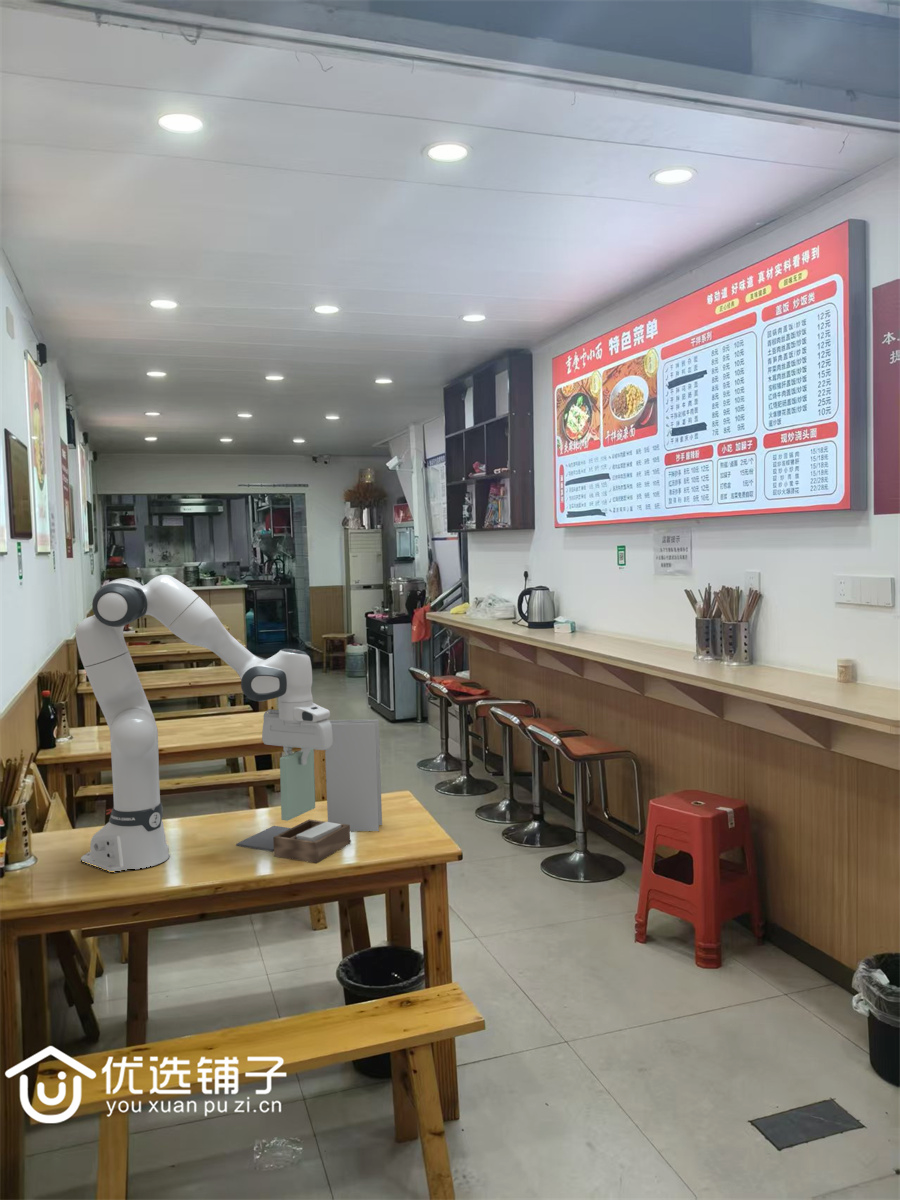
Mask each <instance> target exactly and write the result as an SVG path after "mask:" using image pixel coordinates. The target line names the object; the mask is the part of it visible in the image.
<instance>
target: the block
mask: <svg viewBox="0 0 900 1200" xmlns="http://www.w3.org/2000/svg"><path fill="white" fill-rule="evenodd" d="M310 750H311V751H310V753H309V755H308V757H307V764H306V765H299V764H298V762H299V761H298V758H301V757H302V754H303V752H301V749H300V750H298V751H295V752H292V754H289V755H286V754H285V755H284V756H281V757H279V775H280V776H279V778H280V779H279V780H280V784H279V785H280V806H281V807H280V810H281V811H280V812H281V816H280V817H281V821H287V822H288V821H290V820H292V819H295V818H297V817H299V816H301V815H303V814H305V813H308V812H310V811H312V810H313V809H316V791H315V790H316V786H315V785H316V783H315V780H316V779H315V752H314V751H315V749H310Z"/></svg>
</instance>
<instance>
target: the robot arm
mask: <svg viewBox="0 0 900 1200" xmlns="http://www.w3.org/2000/svg"><path fill="white" fill-rule="evenodd" d="M91 605H92V607H91V608H92V612H93V615H91V616H88V617H85V618H83V619H82V620H81V621H80V622H79V623H78V624H77V626H76V628H75V631H74V632H75V640H76V641H75V642H76V644H77V650H78V654H79V657H80V660H81V663H82V665H83V668H84V671H85V674H86V676H87V679H88V681H89V684H90V686H91V689H92V692H93V695H94V696H95V698H96V701H97V704H98V705H99V707H100V710H101V712H102V715H103V716H104V718H105V721H106V725H107V726H108V728H109V736H110V754H111V755H110V756H111V757H110V759H111V771H112V772H111V774H112V791H113V793H112V794H113V807H111V808H109V809H106V810H105V811H106V815H110V816H109V819H108V822H107V823H105V825H103V827H101V828H100V829H99V830H98V831H96V833H94V834H93V836H92V837H91V839H90V847H89V848H90V851H88V852H87V853H85V854H83V855H82V856H81V857H80V861H81V860H82V861H84V862H87V863H90V864H93V865H96V866H98V867H101V868H103V869H106V870H109V871H120V872H122V871H121V870H125V871H128V870H127V869H135V870H140V868H142V869H146V867H147V868H150V866H151V867H153V866H157V865H159V864H161V863H163V862H166V861H167V860H168V859H169V858H170V852H169V850H170V847H169V845H168V844H167V840H166V832H165V827H164V821H163V814H164V812H163V809H164V808H163V803H162V801H161V795H160V794H161V790H160V767H159V766H160V765H159V764H160V763H159V762H160V761H159V760H160V759H159V756H160V755H159V730H158V727H157V722H156V718H155V716H154V713H153V711H152V708H151V706H150V703H149V701H148V698H147V696H146V692H145V690H144V688H143V685H142V682H141V680H140V677H139V674H138V672H137V668H136V667H135V664H134V662H133V659H132V656H131V652H130V651H129V648H128V646H127V643H126V640H125V636H124V628H125V626H127V625H129V624H131V623H132V622H134V621H137V620H138V619H140V618H142V617H143V616H145V615H146V616H151V617H153V618H155V619H156V620H157V621H158V622H160V623H161V624H162V625H163V626H164V627H165V628H167V630H169V631H170V632H171V633H172V634H174V635H175V636H176V637H178V638H179V639H180V640H182V641H184V642H185V643H186V644H188V645H191V646H196V647H200V648H204V649H207V650H209V651H211V652H213V653H214V654H215V655H217V657H219V658H220V659H221V660H222V661H223V662H224V663H226V664H227V665H228V666H229V667H230V668H231V669H232V670H234V671H235V672H236V673H237V674H238V676H239V679H240V686H241V687H240V688H241V690H242V693H243V694H244V696H246V698H248V699H249V700H251V701H255V702H265V701H269V700H273V699H277V701H278V704H277V705H278V709H273V708H272V709H271V708H269V709H267V710H266V711H265V712H264V713H263V722H262V723H263V724H262V731H261V732H262V734H261V741H262V742H263V744H264V745H268V746H277V747H283V752H284V754H285V756H286V755H289V754H292V753H293V748H297V749H300V750H301V752H303V754H302V757H301V758H298V761H299V762H298V764H299V765H306V764H307V757H308V755H309V753H310V751H311V750H310V749H314V750H316V751H317V750H318V751H325V750H326V749H328V748H330V747H331V746H332V743H333V736H332V726H331V723H330V721H329V720H330V719H329V718H330V716H331V712H330V710H329V709H327V708H325V707H323V706H320V705H319V704H316V703H314V698H313V694H312V686H313V667H312V661H311V657H310V655H308V653H307V652H306V651H303V650H300V649H296V648H295V649H294V648H282V649H280V650H279V651H278V652H277V653H275V654H274V655H272V656H271V657H268V658H265V657H262V656H258V655H256V654H254V653H253V652H252V651H251V650H249V649H248V648H247V647H245V646H244V645H243V644H242V643H241V642H240V641H238V640H237V639H236V638H235V637H234V636H233V635H232V634H231V633H230V632H229V631H228V630H227V629H226V627H225V626H224V624H223V623H222V622H221V620H220V618H219V617H218V615H217V614H216V613H215V612H214V611H213V609H212V608H211V607H210V605H208V604H207V602H206V601H204V600H203V599H202V598H201V597H200V596H199V594H197V593H196V592H194V590H192V589H191V588H190V587H188V586H187V585H185V584H184V583H183V582H181V581H180V580H178V579H176V577H173V576H172V575H169V574H160V575H157V576H154V578H151V579H150V580H149V581H148V582H147V583H146V584H143V583H142V582H141V581H139V580H137V579H135V578H132V577H121V578H120V577H119V578H117V579H113V580H111V581H109V582H107V583H105V584H104V585H103V586H101V587H100V588H99V589H98V590H97V591H96V592H95V593H94V596H93V599H92V604H91Z"/></svg>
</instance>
